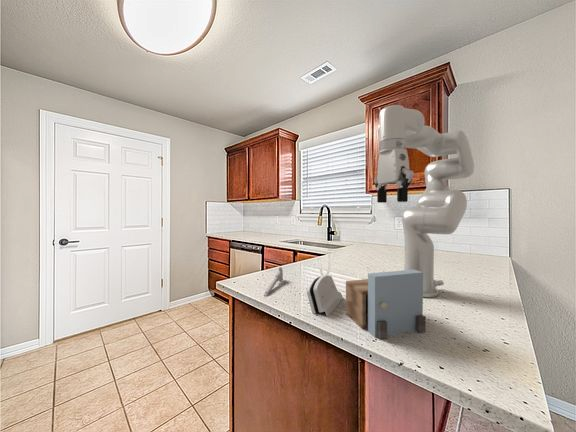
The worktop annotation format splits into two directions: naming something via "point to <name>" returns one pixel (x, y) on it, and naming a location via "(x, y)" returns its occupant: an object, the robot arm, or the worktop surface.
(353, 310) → the cabinet
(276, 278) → the caliper
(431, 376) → the worktop surface
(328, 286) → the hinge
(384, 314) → the door
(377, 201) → the robot arm
